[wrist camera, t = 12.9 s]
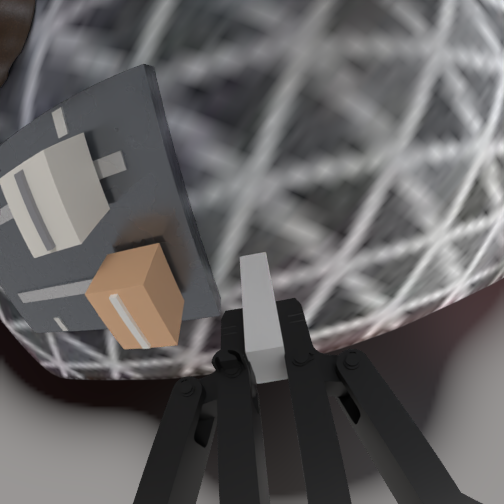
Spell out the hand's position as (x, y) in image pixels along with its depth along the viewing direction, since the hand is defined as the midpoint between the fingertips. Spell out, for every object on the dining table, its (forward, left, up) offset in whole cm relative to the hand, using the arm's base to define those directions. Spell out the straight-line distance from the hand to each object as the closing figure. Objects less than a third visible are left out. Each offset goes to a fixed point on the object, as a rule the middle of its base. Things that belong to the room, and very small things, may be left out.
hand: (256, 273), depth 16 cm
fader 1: (-8, -10, -1) cm, 13 cm away
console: (-4, -15, -4) cm, 16 cm away
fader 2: (0, -7, -1) cm, 8 cm away
